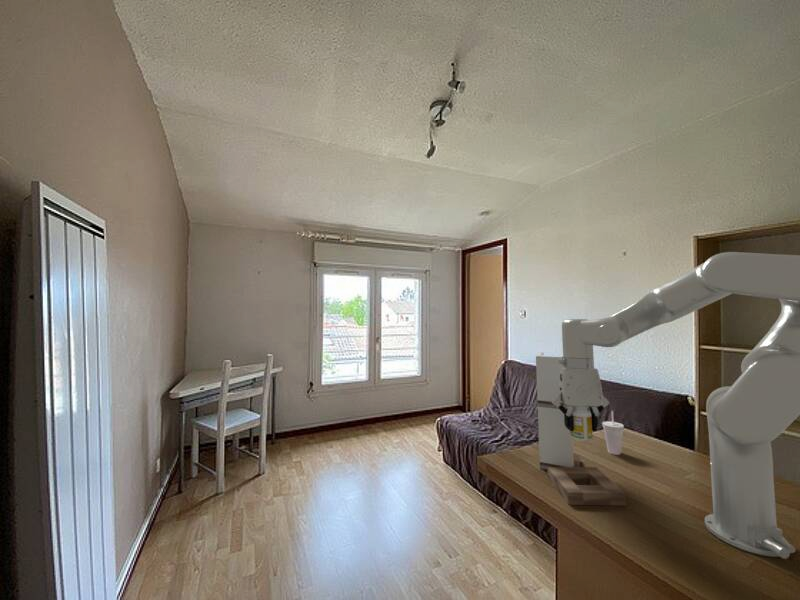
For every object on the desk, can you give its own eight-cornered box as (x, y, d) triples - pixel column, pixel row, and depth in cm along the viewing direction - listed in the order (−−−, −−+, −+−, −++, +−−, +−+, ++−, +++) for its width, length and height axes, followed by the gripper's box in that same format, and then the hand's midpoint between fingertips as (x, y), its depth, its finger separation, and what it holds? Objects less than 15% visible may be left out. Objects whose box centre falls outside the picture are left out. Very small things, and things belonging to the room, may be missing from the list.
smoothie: (625, 451, 115) (623, 410, 116) (625, 458, 110) (623, 415, 110) (603, 447, 119) (601, 407, 119) (603, 454, 113) (601, 412, 114)
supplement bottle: (587, 434, 94) (585, 399, 94) (596, 441, 88) (594, 404, 89) (567, 434, 94) (565, 399, 95) (575, 441, 89) (573, 404, 89)
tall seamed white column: (578, 476, 98) (573, 357, 100) (539, 468, 104) (535, 356, 105) (579, 461, 108) (575, 353, 110) (544, 454, 114) (540, 352, 115)
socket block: (625, 505, 83) (625, 493, 83) (568, 504, 84) (568, 492, 84) (596, 477, 97) (596, 467, 97) (547, 477, 98) (547, 466, 98)
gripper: (551, 365, 89) (554, 434, 88) (618, 365, 88) (621, 434, 87) (541, 361, 96) (544, 424, 96) (602, 361, 95) (605, 425, 94)
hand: (581, 428), depth 91 cm, fingers closed on supplement bottle, 5 cm apart
